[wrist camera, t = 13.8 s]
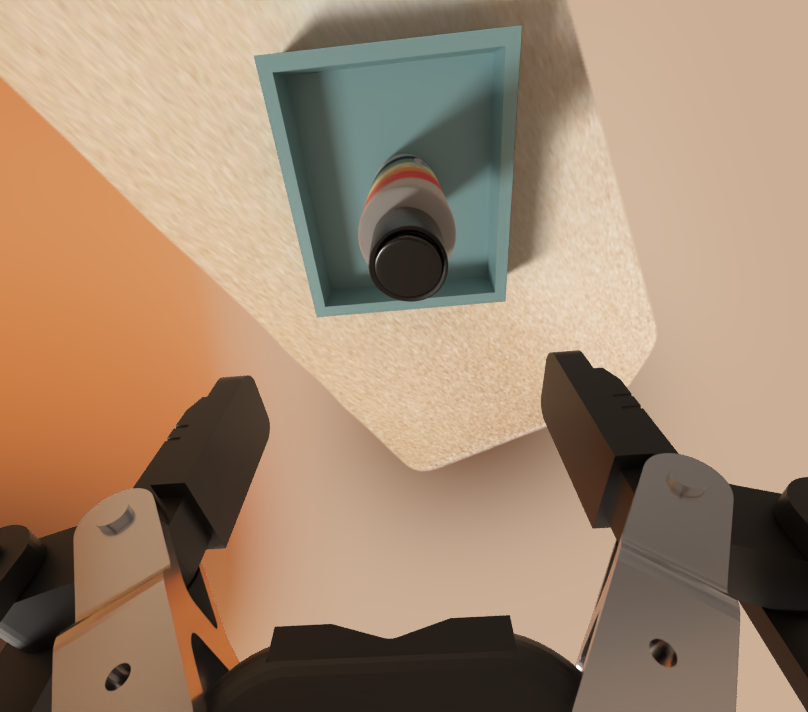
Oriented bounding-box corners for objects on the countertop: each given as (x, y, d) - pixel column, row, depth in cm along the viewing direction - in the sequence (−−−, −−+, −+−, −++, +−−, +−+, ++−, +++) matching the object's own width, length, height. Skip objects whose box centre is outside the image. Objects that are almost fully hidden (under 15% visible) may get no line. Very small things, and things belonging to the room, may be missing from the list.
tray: (274, 62, 30) (253, 55, 26) (504, 35, 30) (521, 24, 25) (325, 295, 41) (316, 317, 37) (494, 280, 41) (505, 301, 36)
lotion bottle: (447, 169, 34) (492, 237, 17) (421, 230, 37) (438, 339, 20) (386, 140, 33) (371, 184, 16) (364, 206, 35) (331, 301, 19)
